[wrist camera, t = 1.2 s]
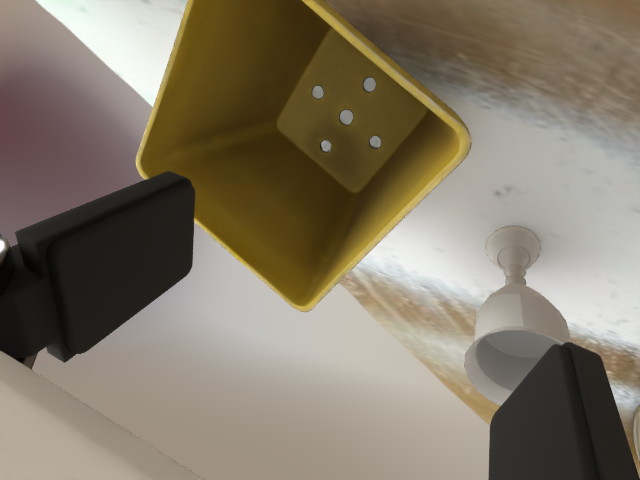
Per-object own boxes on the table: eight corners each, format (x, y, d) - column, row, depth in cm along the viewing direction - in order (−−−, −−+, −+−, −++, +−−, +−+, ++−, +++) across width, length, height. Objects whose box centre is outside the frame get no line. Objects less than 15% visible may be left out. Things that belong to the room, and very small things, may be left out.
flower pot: (361, 234, 45) (302, 319, 31) (241, 130, 45) (129, 169, 31) (486, 102, 34) (481, 142, 20) (327, -35, 34) (214, -88, 20)
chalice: (570, 243, 36) (622, 379, 22) (521, 289, 40) (537, 432, 25) (502, 204, 37) (508, 309, 22) (461, 252, 41) (443, 370, 26)
